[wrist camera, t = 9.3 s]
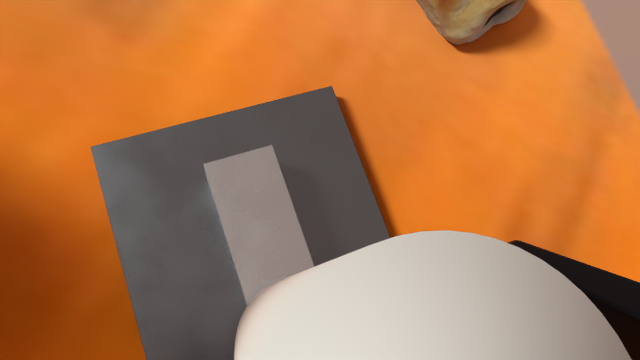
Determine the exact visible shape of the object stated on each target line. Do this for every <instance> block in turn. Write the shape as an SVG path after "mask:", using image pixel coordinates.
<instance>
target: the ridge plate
mask: <svg viewBox="0 0 640 360" xmlns="http://www.w3.org/2000/svg"><path fill="white" fill-rule="evenodd" d="M91 150H92V154H93V158H94V162H95V166H96V169H97V173H98V177H99V181H100V185H101V188H102V192H103V196H104V200H105V204H106V207H107V211H108V215H109V219H110V223H111V226H112V230H113V234H114V238H115V242H116V245H117V249H118V253H119V257H120V261H121V264H122V268H123V272H124V276H125V280H126V283H127V287H128V291H129V295H130V298H131V302H132V306H133V310H134V314H135V317H136V321H137V325H138V329H139V333H140V336H141V340H142V344H143V348H144V352H145V355H146V359H147V360H234V350H235V338H236V332H237V328H238V324H239V321H240V319H241V316H242V314H243V312H244V311H245V309H246V307H247V306H248V304H249V303H250V301H251V300H252V299H253V298H254V297H255V296H256V295H257V294H258V293H259V292H260V291H262V290H263V289H264V288H266V287H267V286H269V285H270V284H272V283H274V282H276V281H279V280H281V279H284V278H287V277H289V276H292V275H294V274H297V273H299V272H302V271H305V270H307V269H310V268H312V267H315V266H318V265H320V264H323V263H325V262H328V261H330V260H333V259H336V258H338V257H341V256H343V255H346V254H348V253H351V252H354V251H356V250H359V249H361V248H364V247H366V246H369V245H372V244H375V243H378V242H381V241H383V240H386V239H389V238H390V236H389V233H388V231H387V228H386V225H385V223H384V220H383V218H382V215H381V212H380V210H379V207H378V205H377V202H376V199H375V197H374V194H373V192H372V189H371V186H370V184H369V181H368V179H367V176H366V173H365V171H364V168H363V166H362V163H361V160H360V158H359V155H358V153H357V150H356V147H355V145H354V142H353V140H352V137H351V135H350V132H349V129H348V127H347V124H346V122H345V119H344V116H343V114H342V111H341V109H340V106H339V103H338V101H337V98H336V96H335V93H334V90H333V88H332V86H330V87H326V88H322V89H318V90H314V91H310V92H306V93H302V94H298V95H294V96H290V97H286V98H282V99H278V100H274V101H270V102H266V103H262V104H258V105H254V106H250V107H247V108H243V109H239V110H235V111H231V112H227V113H223V114H219V115H215V116H211V117H207V118H203V119H199V120H195V121H191V122H187V123H183V124H179V125H175V126H171V127H167V128H163V129H159V130H155V131H151V132H147V133H143V134H139V135H136V136H132V137H128V138H124V139H120V140H116V141H112V142H108V143H104V144H100V145H96V146H92V147H91Z"/></svg>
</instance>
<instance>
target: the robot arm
mask: <svg viewBox="0 0 640 360" xmlns="http://www.w3.org/2000/svg"><path fill="white" fill-rule="evenodd" d="M508 244H511V245H514V246H516V247H519V248H521V249H523V250H525V251H527V252H528V253H530V254H532V255H534V256H536V257H538V258H540V259H541V260H543V261H544V262H546V263H547V264H549V265H550V266H552V267H553V268H554V269H556V270H557V271H559V272H560V273H561V274H563V275H564V276H565V277H566V278H567V279H569V280H570V281H571V282H572V283H573V284H574V285H575V286H576V287H578V288H579V289H580V290H581V291H582V292H583V293H584V294H585V295H586V296H587V297H588V298H589V300H590V301H591V302H592V303H593V304H594V305H595V306H596V307H597V308H598V310H599V311H600V312H601V313H602V314H603V316H604V317H605V318H606V320H607V321H608V323H609V324H610V325H611V327H612V328H613V330H614V331H615V332H616V334H617V335H618V337H619V338H620V340H621V342H622V344H623V345H624V347H625V349H626V351H627V352H628V354H629V356H630V358H631V359H632V360H640V283H639V282H636V281H633V280H631V279H628V278H625V277H622V276H619V275H616V274H613V273H611V272H608V271H605V270H602V269H599V268H596V267H593V266H591V265H588V264H585V263H582V262H579V261H576V260H573V259H570V258H568V257H565V256H562V255H559V254H556V253H553V252H550V251H548V250H545V249H542V248H539V247H536V246H533V245H530V244H528V243H525V242H522V241H518V240H514V241H511V242H508Z"/></svg>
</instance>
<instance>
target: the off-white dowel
mask: <svg viewBox="0 0 640 360" xmlns="http://www.w3.org/2000/svg"><path fill="white" fill-rule="evenodd" d="M234 360H632V359H631V358H630V356H629V354H628V352H627V351H626V349H625V347H624V345H623V344H622V342H621V340H620V338H619V337H618V335H617V334H616V332H615V331H614V330H613V328H612V327H611V325H610V324H609V323H608V321H607V320H606V318H605V317H604V316H603V314H602V313H601V312H600V311H599V310H598V308H597V307H596V306H595V305H594V304H593V303H592V302H591V301H590V300H589V298H588V297H587V296H586V295H585V294H584V293H583V292H582V291H581V290H580V289H579V288H578V287H576V286H575V285H574V284H573V283H572V282H571V281H570V280H569V279H567V278H566V277H565V276H564V275H563V274H561V273H560V272H559V271H557V270H556V269H554V268H553V267H552V266H550V265H549V264H547V263H546V262H544V261H543V260H541V259H540V258H538V257H536V256H534V255H532V254H530V253H528V252H527V251H525V250H523V249H521V248H519V247H516V246H514V245H511V244H508V243H506V242H503V241H501V240H498V239H495V238H491V237H487V236H483V235H478V234H474V233H467V232H457V231H447V230H446V231H422V232H416V233H411V234H405V235H400V236H395V237H392V238H389V239H386V240H383V241H381V242H378V243H375V244H372V245H369V246H366V247H364V248H361V249H359V250H356V251H354V252H351V253H348V254H346V255H343V256H341V257H338V258H336V259H333V260H330V261H328V262H325V263H323V264H320V265H318V266H315V267H312V268H310V269H307V270H305V271H302V272H299V273H297V274H294V275H292V276H289V277H287V278H284V279H281V280H279V281H276V282H274V283H272V284H270V285H269V286H267V287H266V288H264V289H263V290H262V291H260V292H259V293H258V294H257V295H256V296H255V297H254V298H253V299H252V300H251V301H250V303H249V304H248V306H247V307H246V309H245V311H244V312H243V314H242V316H241V319H240V321H239V324H238V328H237V332H236V338H235V350H234Z"/></svg>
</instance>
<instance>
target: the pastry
mask: <svg viewBox="0 0 640 360" xmlns="http://www.w3.org/2000/svg"><path fill="white" fill-rule="evenodd" d="M416 1H417V2H418V3H419V5H420V6H421V8H422V9H423V11H424V13H425V15H426V16H427V18H428V19H429V20H430V22H431V23H432V24H433V26H434V27H435V28H436V29H437V31H438V32H439V33H440V34H441V35H442V36H443V37H444V38H445V39H446V40H447V41H449V42H450V43H452V44H454V45H460V44H463V43H465V44H466V43H470V42H472V41H474V40H476V39H478V38H479V37H480V36H481V35H482V34H484V33H485V32H487V31H488V30H489V29H490V28H491V27H492V26H493V25H497V24H502V23H505V22H507V21H509V20H510V19H511V18H513V17H515V16H516V15H517V14H518V13H519V12H520V11H521V10H522V8H523V6H524V4H525V3H526V1H527V0H416Z"/></svg>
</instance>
